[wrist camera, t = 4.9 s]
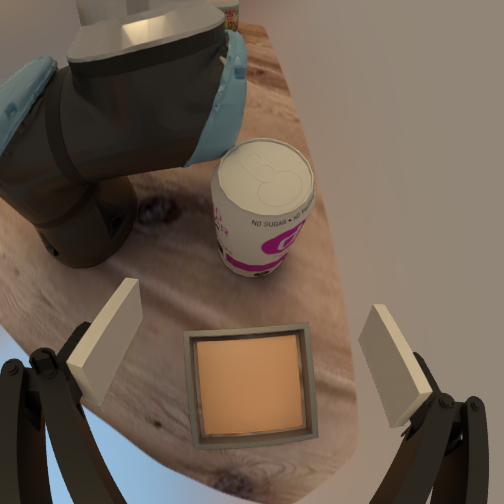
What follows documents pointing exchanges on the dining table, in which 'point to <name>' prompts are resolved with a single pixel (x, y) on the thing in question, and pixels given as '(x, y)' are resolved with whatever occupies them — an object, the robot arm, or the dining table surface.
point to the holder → (251, 387)
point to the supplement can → (260, 204)
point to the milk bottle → (228, 12)
